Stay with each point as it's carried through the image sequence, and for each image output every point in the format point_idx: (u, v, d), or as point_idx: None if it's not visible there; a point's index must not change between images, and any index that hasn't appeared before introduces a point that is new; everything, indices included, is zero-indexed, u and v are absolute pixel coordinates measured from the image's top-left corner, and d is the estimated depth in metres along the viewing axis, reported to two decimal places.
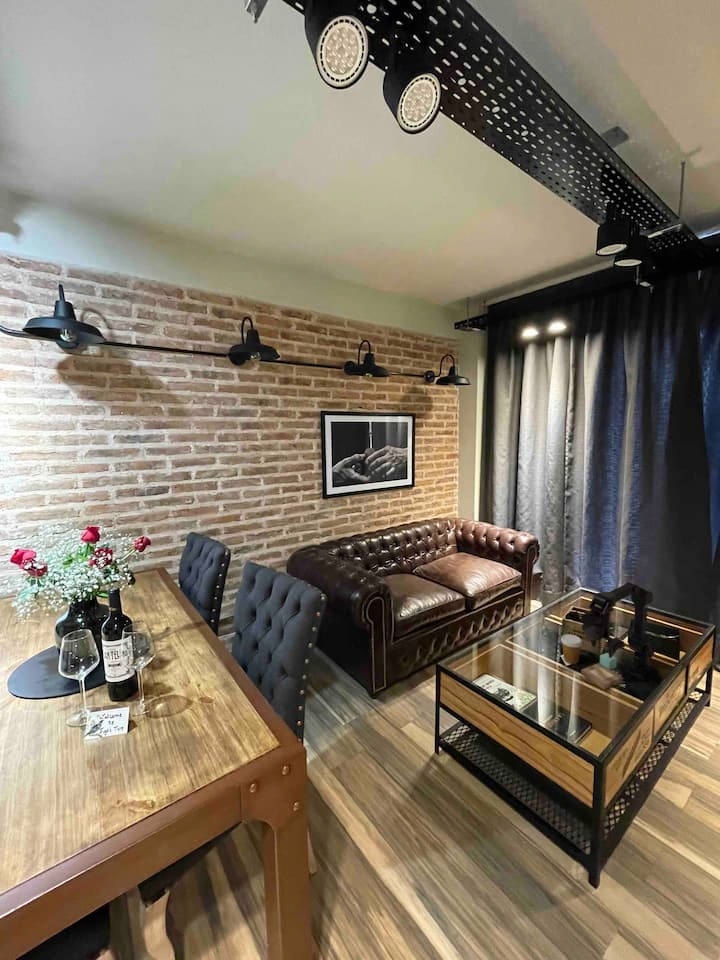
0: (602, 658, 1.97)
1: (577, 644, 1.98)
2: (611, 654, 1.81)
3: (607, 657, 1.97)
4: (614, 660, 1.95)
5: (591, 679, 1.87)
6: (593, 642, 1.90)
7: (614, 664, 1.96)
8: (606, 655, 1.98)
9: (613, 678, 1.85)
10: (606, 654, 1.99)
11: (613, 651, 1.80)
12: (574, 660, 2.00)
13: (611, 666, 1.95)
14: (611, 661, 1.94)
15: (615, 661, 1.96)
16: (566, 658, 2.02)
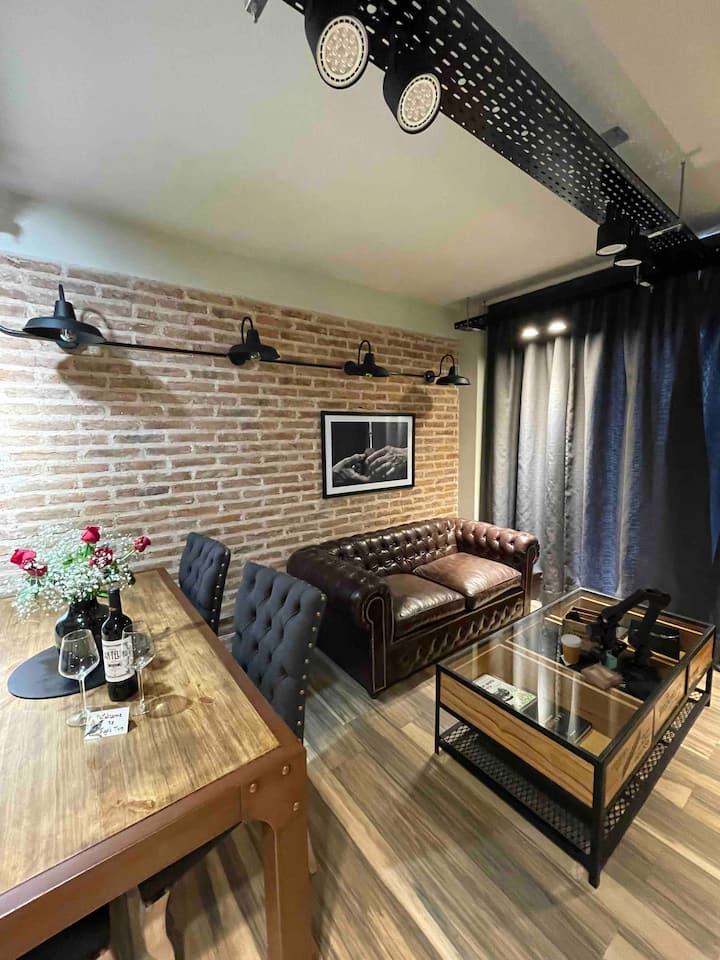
0: None
1: (577, 644, 1.98)
2: (601, 662, 1.96)
3: None
4: (614, 660, 1.95)
5: (591, 679, 1.87)
6: None
7: (614, 664, 1.96)
8: (606, 655, 1.98)
9: (613, 678, 1.85)
10: None
11: (602, 660, 1.95)
12: (574, 660, 2.00)
13: (611, 666, 1.95)
14: (611, 661, 1.94)
15: (615, 661, 1.96)
16: (566, 658, 2.02)
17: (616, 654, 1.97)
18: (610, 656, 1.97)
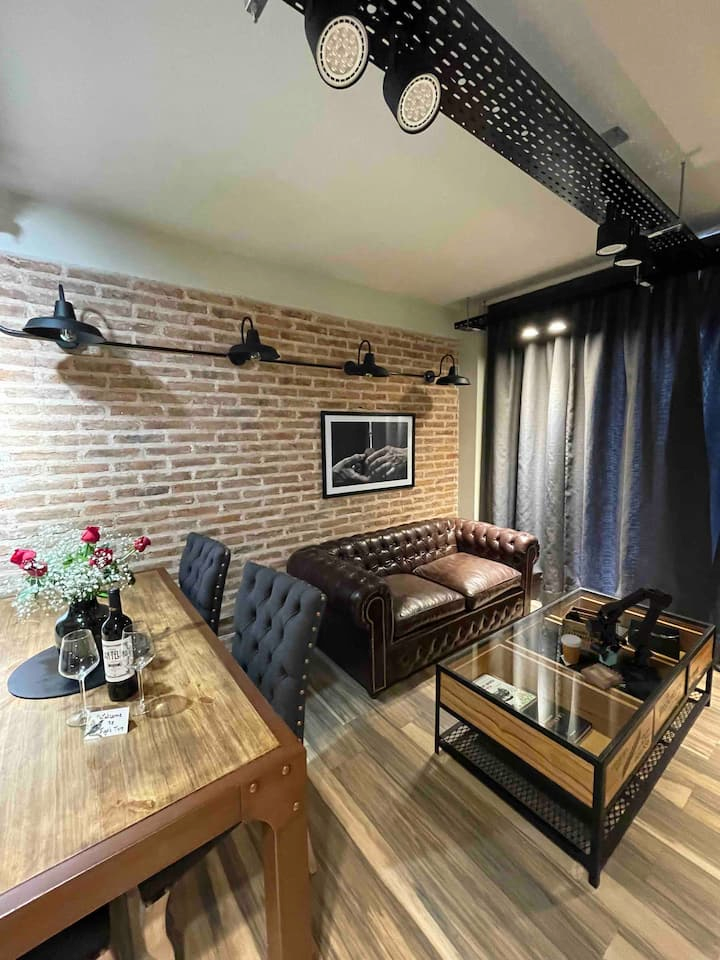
0: None
1: (577, 644, 1.98)
2: (602, 657, 1.96)
3: None
4: (614, 656, 1.95)
5: (591, 679, 1.87)
6: None
7: (614, 660, 1.95)
8: None
9: (613, 678, 1.85)
10: None
11: (603, 655, 1.95)
12: (574, 660, 2.00)
13: (611, 662, 1.95)
14: (610, 657, 1.94)
15: (615, 657, 1.95)
16: (566, 658, 2.02)
17: (615, 650, 1.96)
18: (610, 652, 1.97)
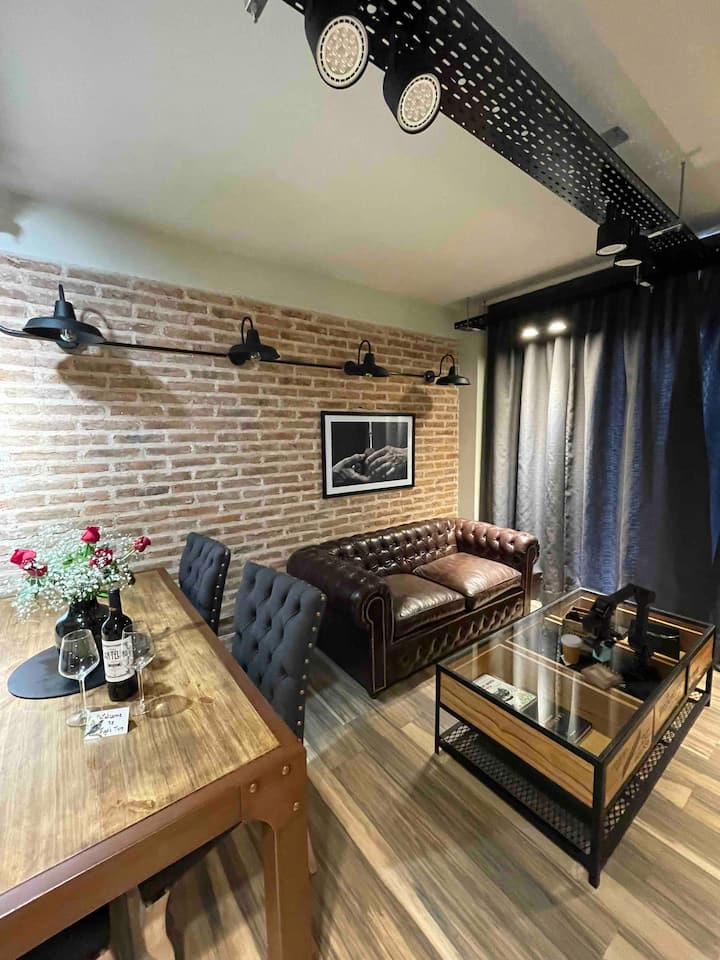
0: None
1: (577, 644, 1.98)
2: (596, 653, 1.87)
3: None
4: (608, 651, 1.86)
5: (591, 679, 1.87)
6: None
7: (608, 655, 1.86)
8: None
9: (613, 678, 1.85)
10: None
11: (596, 650, 1.86)
12: (574, 660, 2.00)
13: (605, 658, 1.85)
14: (604, 652, 1.85)
15: (609, 652, 1.86)
16: (566, 658, 2.02)
17: (609, 646, 1.87)
18: (604, 647, 1.88)
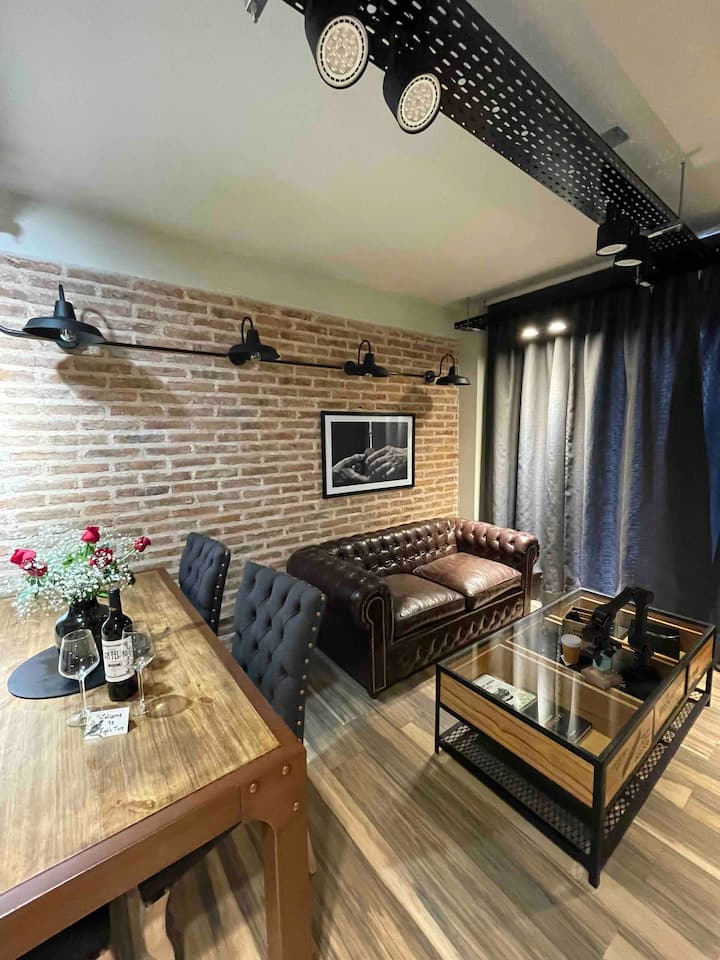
0: None
1: (577, 644, 1.98)
2: (596, 662, 1.87)
3: None
4: (608, 660, 1.86)
5: (591, 679, 1.87)
6: None
7: (608, 665, 1.86)
8: None
9: (613, 678, 1.85)
10: None
11: (597, 660, 1.86)
12: (574, 660, 2.00)
13: (605, 667, 1.86)
14: (604, 662, 1.85)
15: (609, 661, 1.86)
16: (566, 658, 2.02)
17: (609, 655, 1.87)
18: (604, 656, 1.88)
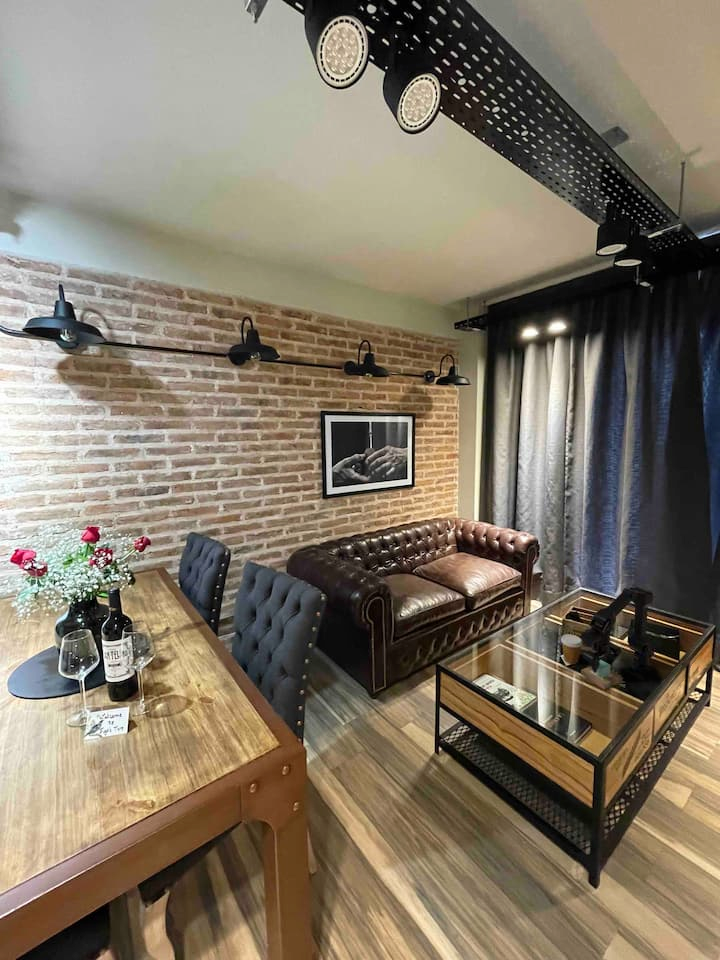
0: None
1: (577, 644, 1.98)
2: (593, 668, 1.87)
3: (601, 664, 1.88)
4: (608, 667, 1.86)
5: (591, 679, 1.87)
6: (607, 662, 1.90)
7: (608, 671, 1.87)
8: (600, 661, 1.89)
9: (613, 678, 1.85)
10: None
11: (593, 666, 1.86)
12: (574, 660, 2.00)
13: (605, 674, 1.86)
14: (604, 669, 1.86)
15: (609, 668, 1.87)
16: (566, 658, 2.02)
17: (612, 659, 1.88)
18: (604, 663, 1.88)
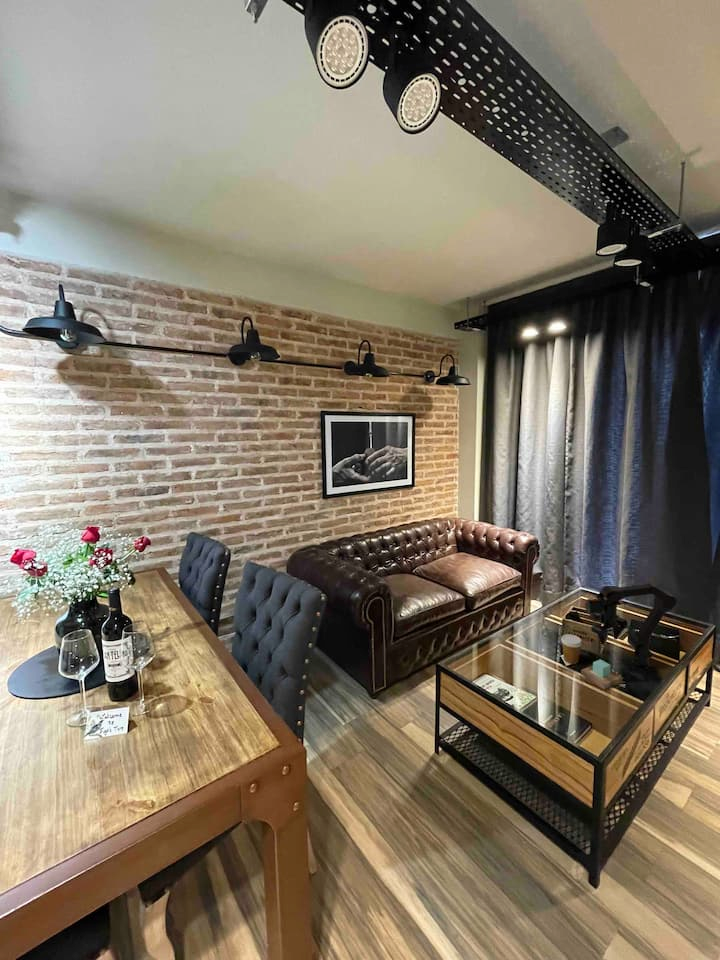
0: (595, 665, 1.88)
1: (577, 644, 1.98)
2: (601, 640, 1.95)
3: (601, 664, 1.88)
4: (608, 667, 1.86)
5: (591, 679, 1.87)
6: (614, 634, 1.99)
7: (608, 671, 1.87)
8: (600, 661, 1.89)
9: (613, 678, 1.85)
10: (599, 660, 1.90)
11: (602, 638, 1.94)
12: (574, 660, 2.00)
13: (605, 674, 1.86)
14: (604, 669, 1.86)
15: (609, 668, 1.87)
16: (566, 658, 2.02)
17: (618, 631, 1.97)
18: (604, 663, 1.88)
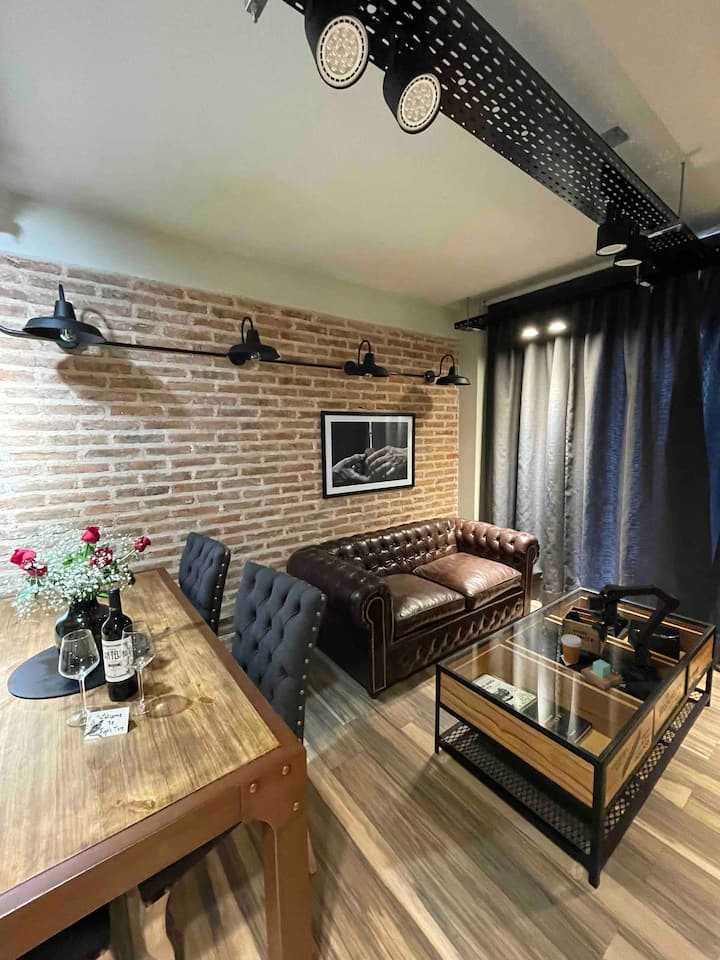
0: (595, 665, 1.88)
1: (577, 644, 1.98)
2: (601, 638, 1.97)
3: (601, 664, 1.88)
4: (608, 667, 1.86)
5: (591, 679, 1.87)
6: (615, 633, 2.00)
7: (608, 671, 1.87)
8: (600, 661, 1.89)
9: (613, 678, 1.85)
10: (599, 660, 1.90)
11: (601, 636, 1.96)
12: (574, 660, 2.00)
13: (605, 674, 1.86)
14: (604, 669, 1.86)
15: (609, 668, 1.87)
16: (566, 658, 2.02)
17: (619, 630, 1.98)
18: (604, 663, 1.88)
